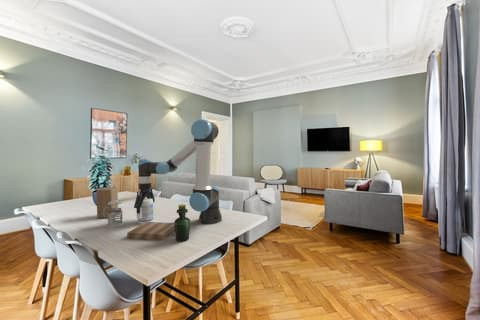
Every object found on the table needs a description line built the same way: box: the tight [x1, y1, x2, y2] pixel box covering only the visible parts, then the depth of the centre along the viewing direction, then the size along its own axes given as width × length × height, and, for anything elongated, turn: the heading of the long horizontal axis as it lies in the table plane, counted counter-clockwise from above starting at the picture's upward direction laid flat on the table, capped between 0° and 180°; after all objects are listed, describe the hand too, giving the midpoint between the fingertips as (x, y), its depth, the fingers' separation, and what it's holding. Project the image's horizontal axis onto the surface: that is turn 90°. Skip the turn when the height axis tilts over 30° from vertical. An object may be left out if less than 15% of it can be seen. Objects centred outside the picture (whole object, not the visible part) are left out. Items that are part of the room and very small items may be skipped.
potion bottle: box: [173, 203, 191, 243], centre depth 112 cm, size 8×8×18 cm
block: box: [96, 186, 119, 219], centre depth 153 cm, size 10×10×20 cm
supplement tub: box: [137, 198, 154, 225], centre depth 140 cm, size 10×10×15 cm
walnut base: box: [126, 221, 175, 241], centre depth 122 cm, size 20×18×3 cm
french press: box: [103, 184, 125, 228], centre depth 135 cm, size 10×12×25 cm
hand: (145, 215), depth 140 cm, fingers open, 13 cm apart
